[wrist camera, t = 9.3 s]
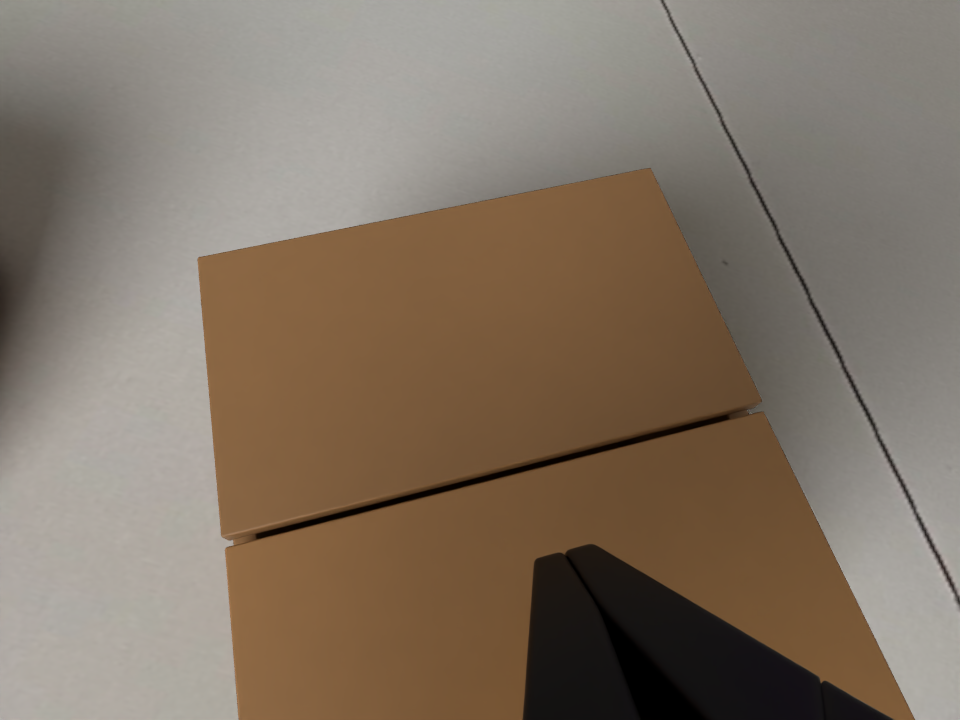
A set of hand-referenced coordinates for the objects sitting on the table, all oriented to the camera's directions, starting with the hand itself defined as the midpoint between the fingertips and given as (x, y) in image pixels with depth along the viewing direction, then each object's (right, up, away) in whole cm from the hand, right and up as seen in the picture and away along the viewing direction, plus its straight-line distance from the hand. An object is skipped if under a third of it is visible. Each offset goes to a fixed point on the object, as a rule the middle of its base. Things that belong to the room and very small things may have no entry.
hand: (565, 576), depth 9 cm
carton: (-1, -3, +12) cm, 12 cm away
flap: (0, -2, +3) cm, 4 cm away
